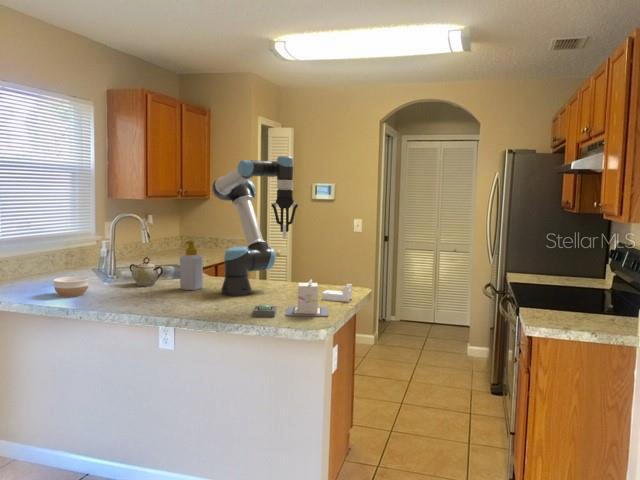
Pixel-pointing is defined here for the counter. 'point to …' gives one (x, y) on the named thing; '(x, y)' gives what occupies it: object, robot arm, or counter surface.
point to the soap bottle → (191, 269)
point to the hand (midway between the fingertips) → (284, 238)
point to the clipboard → (294, 312)
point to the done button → (265, 307)
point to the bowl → (71, 286)
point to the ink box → (308, 297)
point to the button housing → (264, 312)
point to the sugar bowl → (146, 273)
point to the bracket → (339, 294)
